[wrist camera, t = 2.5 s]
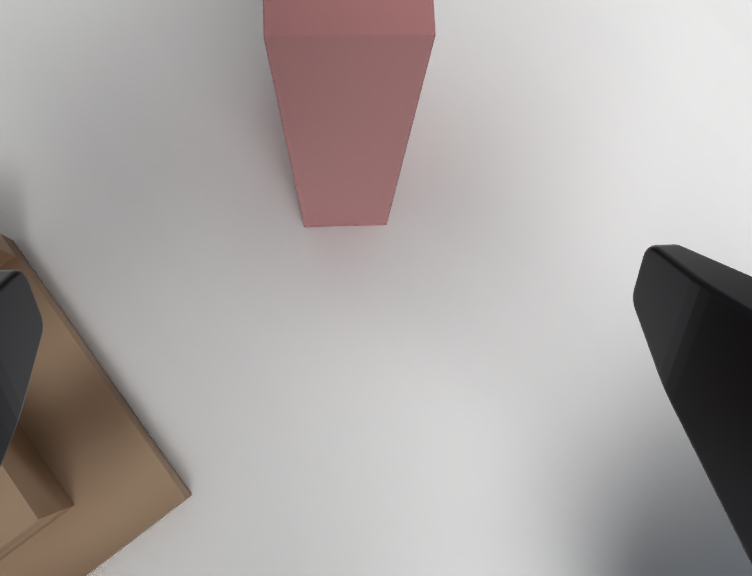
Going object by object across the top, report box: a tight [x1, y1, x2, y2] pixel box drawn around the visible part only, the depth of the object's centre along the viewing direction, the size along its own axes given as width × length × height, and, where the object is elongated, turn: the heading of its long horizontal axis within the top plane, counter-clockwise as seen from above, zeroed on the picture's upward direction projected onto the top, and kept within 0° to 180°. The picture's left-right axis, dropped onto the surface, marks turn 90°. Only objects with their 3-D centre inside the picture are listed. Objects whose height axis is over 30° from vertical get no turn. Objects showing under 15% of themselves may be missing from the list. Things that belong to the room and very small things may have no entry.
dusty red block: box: [263, 0, 435, 227], centre depth 18 cm, size 6×3×12 cm, turn 3°
